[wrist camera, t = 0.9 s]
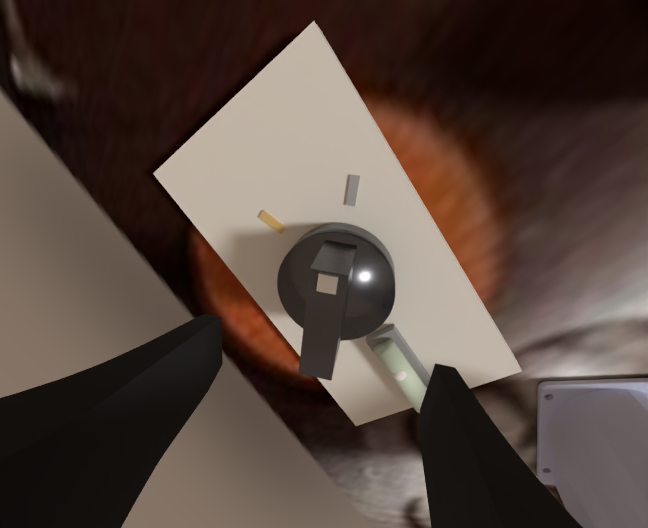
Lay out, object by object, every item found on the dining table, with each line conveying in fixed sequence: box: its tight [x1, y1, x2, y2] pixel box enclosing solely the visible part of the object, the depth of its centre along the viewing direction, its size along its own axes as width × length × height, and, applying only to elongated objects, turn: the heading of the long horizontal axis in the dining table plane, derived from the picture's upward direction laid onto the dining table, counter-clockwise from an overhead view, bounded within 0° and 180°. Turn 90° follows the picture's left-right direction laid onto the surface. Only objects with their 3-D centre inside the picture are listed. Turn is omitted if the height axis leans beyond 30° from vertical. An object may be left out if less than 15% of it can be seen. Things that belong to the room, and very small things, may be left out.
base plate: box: [153, 21, 522, 426], centre depth 19 cm, size 22×12×4 cm, turn 35°
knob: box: [277, 223, 395, 381], centre depth 16 cm, size 6×6×6 cm
